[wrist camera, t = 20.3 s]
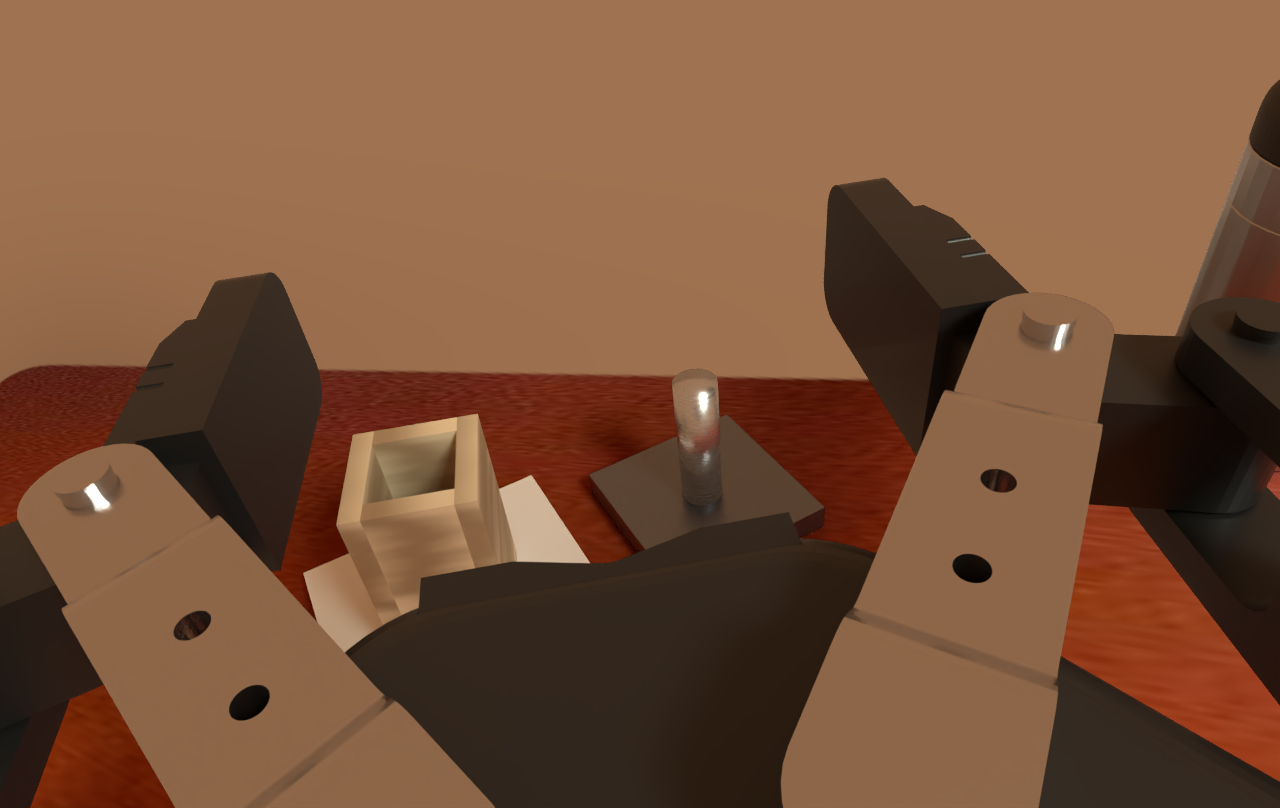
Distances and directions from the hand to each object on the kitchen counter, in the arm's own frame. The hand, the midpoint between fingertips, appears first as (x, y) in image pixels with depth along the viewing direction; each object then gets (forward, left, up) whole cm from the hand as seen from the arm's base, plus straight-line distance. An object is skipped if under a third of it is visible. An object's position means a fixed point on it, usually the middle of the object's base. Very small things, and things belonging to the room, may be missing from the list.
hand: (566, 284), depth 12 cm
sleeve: (+2, -20, -28) cm, 35 cm away
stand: (-13, -20, -30) cm, 39 cm away
